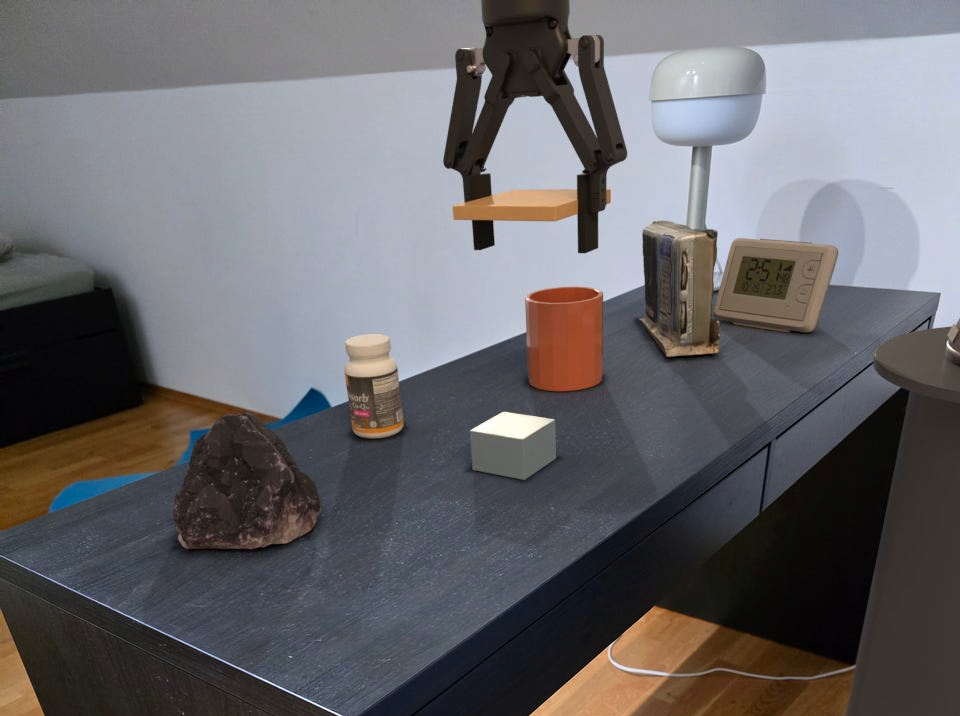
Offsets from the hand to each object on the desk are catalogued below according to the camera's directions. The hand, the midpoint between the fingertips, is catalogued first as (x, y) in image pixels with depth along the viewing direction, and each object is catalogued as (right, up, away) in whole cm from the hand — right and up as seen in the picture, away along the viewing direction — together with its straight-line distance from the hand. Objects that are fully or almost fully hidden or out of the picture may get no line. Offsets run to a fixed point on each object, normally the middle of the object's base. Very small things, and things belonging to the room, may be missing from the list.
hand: (534, 249), depth 86 cm
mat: (0, +3, -2) cm, 3 cm away
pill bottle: (-16, -15, +12) cm, 25 cm away
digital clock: (+35, +6, +38) cm, 52 cm away
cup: (+5, -6, +23) cm, 24 cm away
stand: (-2, -21, +1) cm, 21 cm away
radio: (+21, +3, +36) cm, 41 cm away
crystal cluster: (-26, -28, -7) cm, 39 cm away
